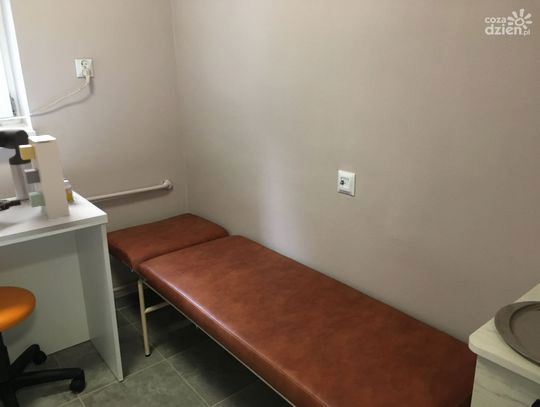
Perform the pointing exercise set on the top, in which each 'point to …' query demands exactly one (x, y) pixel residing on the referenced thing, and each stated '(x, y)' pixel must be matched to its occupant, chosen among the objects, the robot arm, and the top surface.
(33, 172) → the charcoal key
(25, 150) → the tan square block
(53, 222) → the top surface
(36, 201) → the sage key
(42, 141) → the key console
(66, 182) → the supplement bottle
